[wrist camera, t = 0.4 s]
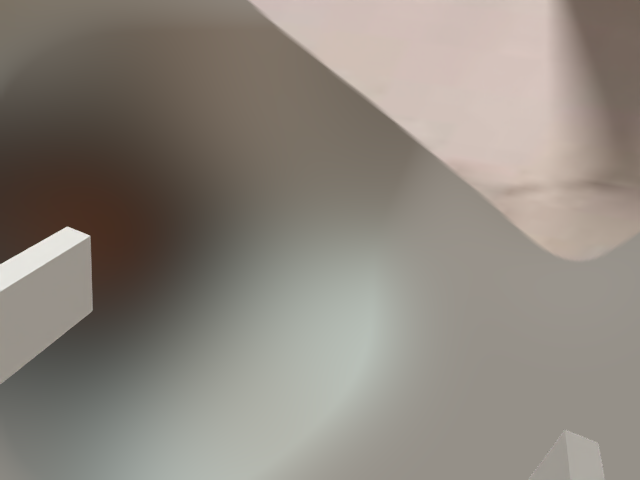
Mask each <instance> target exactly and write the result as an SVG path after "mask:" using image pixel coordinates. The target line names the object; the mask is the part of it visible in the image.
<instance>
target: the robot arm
mask: <svg viewBox="0 0 640 480" xmlns="http://www.w3.org/2000/svg"><path fill="white" fill-rule="evenodd" d="M90 243H91V240H90V236H89V235H87V234H84V233H82V232H79V231H77V230H75V229H72V228H69V227H66V228H64V229H63V230H61V231H59V232H57V233H55V234H53V235H52V236H50V237H48V238H46V239H45V240H43V241H41V242H39V243H38V244H36V245H34V246H32V247H30V248H29V249H27V250H25V251H23V252H22V253H20V254H18V255H16V256H15V257H13V258H11V259H9V260H7V261H6V262H4V263H2V264H0V384H1V383H3V382H4V381H5V380H6V379H8V378H9V377H10V376H11V375H13V374H14V373H15V372H16V371H18V370H19V369H20V368H21V367H23V366H24V365H25V364H26V363H28V362H29V361H30V360H31V359H32V358H34V357H35V356H36V355H37V354H39V353H40V352H42V350H44V349H45V348H46V347H48V346H49V345H50V344H51V343H53V342H54V341H55V340H57V339H58V338H59V337H60V336H62V335H63V334H64V333H65V332H66V331H68V330H69V329H70V328H71V327H73V326H74V325H75V324H77V323H78V322H79V321H80V320H81V319H83V318H84V317H85V316H87V315H88V314H89V313H90V312H92V311H93V308H92V278H91V277H92V276H91V275H92V274H91V244H90ZM528 480H605V478H604V472H603V466H602V461H601V455H600V450H599V445H598V443H597V442H595V441H592V440H590V439H587V438H585V437H582V436H580V435H577V434H575V433H572V432H570V431H568V430H564V431H563V433H562V434H561V435H560V437H559V438H558V440H557V441H556V443H555V444H554V445H553V446H552V448H551V449H550V450H549V452H548V453H547V455H546V456H545V457H544V459H543V460H542V461H541V463H540V464H539V465H538V467H537V468H536V470H535V471H534V472H533V474H532V475H531V476H530V478H529V479H528Z"/></svg>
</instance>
